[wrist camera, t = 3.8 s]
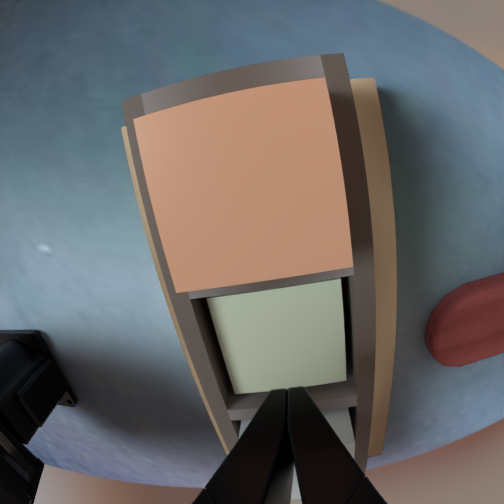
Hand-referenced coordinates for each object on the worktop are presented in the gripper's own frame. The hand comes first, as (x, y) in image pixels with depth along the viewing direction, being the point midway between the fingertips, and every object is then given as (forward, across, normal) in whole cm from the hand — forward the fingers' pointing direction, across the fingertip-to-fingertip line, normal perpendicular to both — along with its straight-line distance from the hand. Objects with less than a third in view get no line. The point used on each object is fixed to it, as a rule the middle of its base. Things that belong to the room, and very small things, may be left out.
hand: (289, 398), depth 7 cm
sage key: (+5, 0, 0) cm, 6 cm away
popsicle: (+8, -15, +5) cm, 17 cm away
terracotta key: (+3, 0, -5) cm, 6 cm away
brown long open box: (+8, 0, +3) cm, 8 cm away
